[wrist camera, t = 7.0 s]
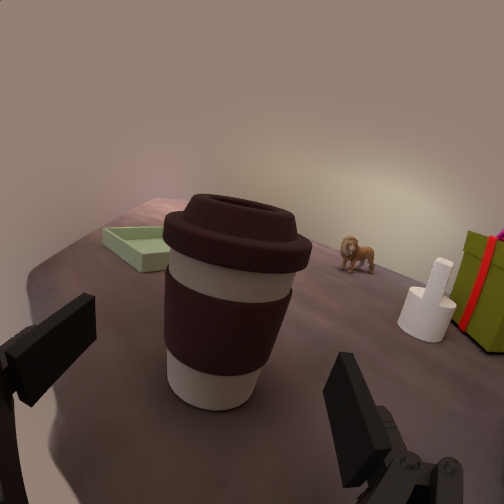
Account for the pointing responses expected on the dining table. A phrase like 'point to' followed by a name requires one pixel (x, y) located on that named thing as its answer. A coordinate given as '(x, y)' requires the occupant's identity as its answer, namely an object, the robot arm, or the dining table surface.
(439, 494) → the robot arm
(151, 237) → the tray
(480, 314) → the gift box
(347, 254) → the lion figurine
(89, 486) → the dining table surface
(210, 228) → the coffee cup
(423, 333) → the cylinder with rectangular tab
